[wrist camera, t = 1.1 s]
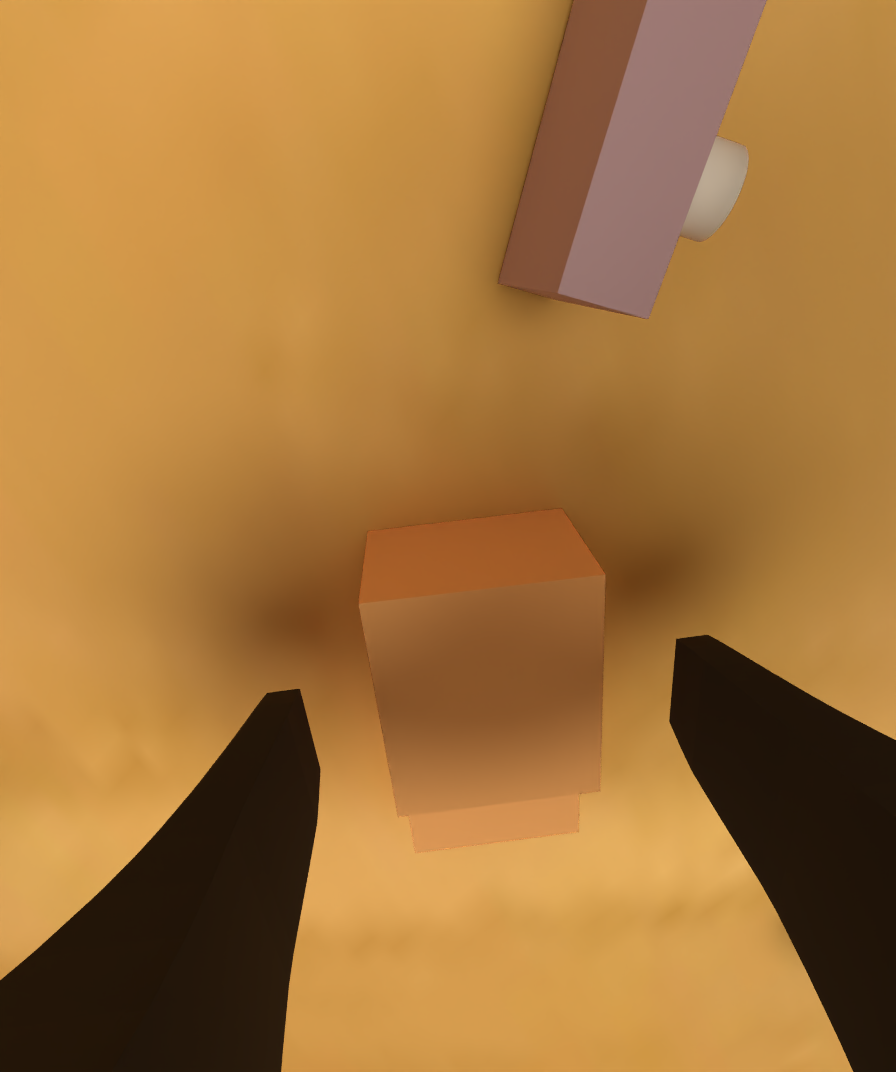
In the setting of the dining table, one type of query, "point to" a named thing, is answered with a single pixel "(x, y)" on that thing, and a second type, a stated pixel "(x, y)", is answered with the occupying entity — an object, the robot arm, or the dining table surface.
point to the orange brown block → (486, 674)
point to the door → (631, 149)
